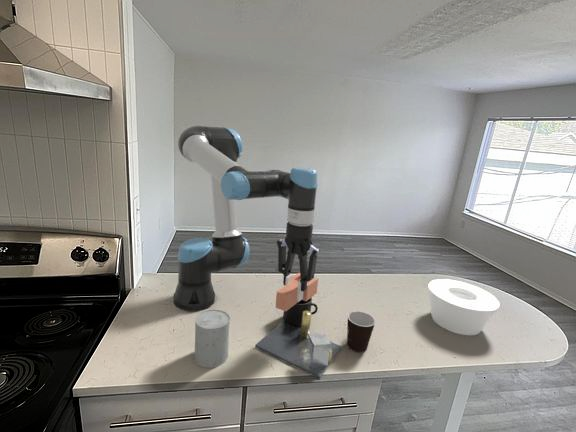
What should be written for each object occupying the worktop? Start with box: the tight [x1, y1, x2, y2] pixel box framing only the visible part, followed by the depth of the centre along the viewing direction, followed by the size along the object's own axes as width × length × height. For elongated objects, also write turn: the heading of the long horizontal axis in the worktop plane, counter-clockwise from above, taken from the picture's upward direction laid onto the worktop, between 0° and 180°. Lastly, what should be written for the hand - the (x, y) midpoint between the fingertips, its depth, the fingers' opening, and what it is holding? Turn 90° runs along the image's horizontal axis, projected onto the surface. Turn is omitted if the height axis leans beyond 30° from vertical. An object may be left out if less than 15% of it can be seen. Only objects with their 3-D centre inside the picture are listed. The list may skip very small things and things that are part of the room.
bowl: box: [427, 278, 501, 336], centre depth 124 cm, size 24×24×12 cm
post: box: [300, 311, 312, 338], centre depth 106 cm, size 3×3×8 cm
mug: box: [282, 297, 319, 329], centre depth 116 cm, size 9×12×9 cm
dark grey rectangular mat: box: [255, 320, 342, 379], centre depth 102 cm, size 22×16×1 cm
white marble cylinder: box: [193, 309, 231, 369], centre depth 93 cm, size 10×10×12 cm
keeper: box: [308, 331, 332, 368], centre depth 95 cm, size 6×6×7 cm
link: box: [275, 272, 319, 312], centre depth 99 cm, size 16×7×5 cm, turn 148°
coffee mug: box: [346, 310, 376, 353], centre depth 105 cm, size 12×9×10 cm
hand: (293, 297), depth 99 cm, fingers closed on link, 3 cm apart
